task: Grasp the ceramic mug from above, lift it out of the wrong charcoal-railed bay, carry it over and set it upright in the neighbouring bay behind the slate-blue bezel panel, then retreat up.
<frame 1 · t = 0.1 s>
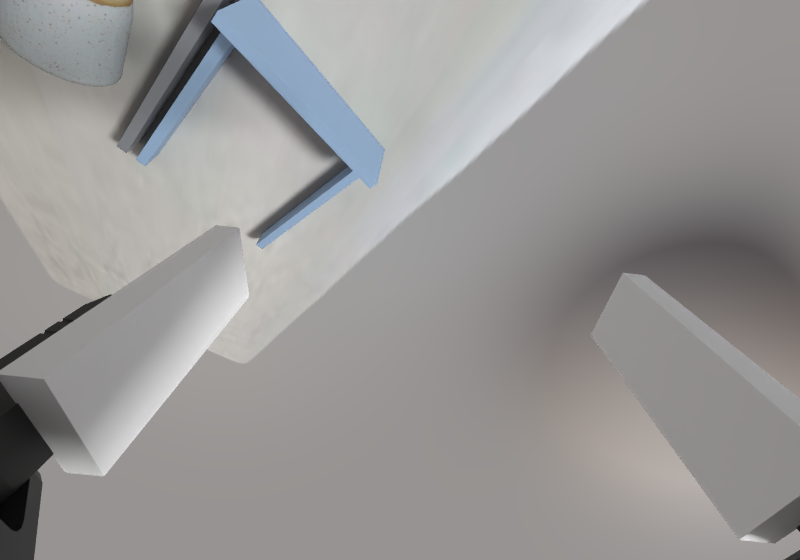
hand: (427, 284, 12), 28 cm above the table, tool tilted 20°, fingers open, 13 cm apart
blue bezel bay: (260, 151, 38), on the table
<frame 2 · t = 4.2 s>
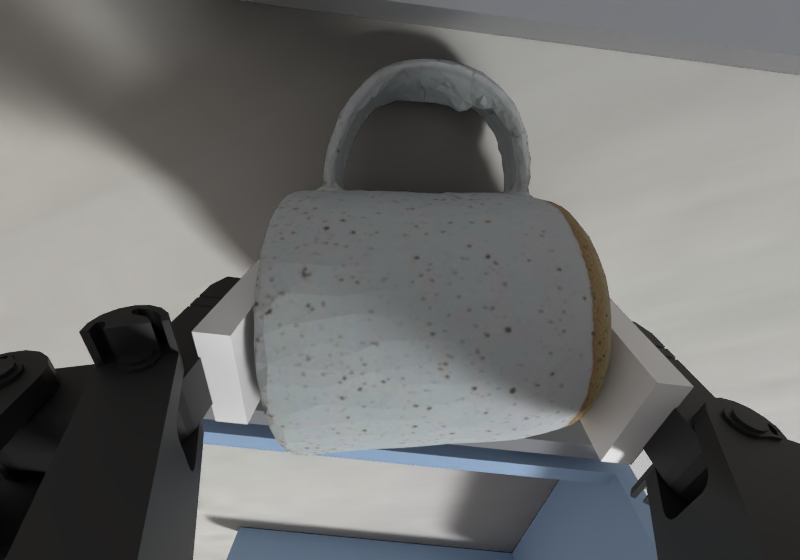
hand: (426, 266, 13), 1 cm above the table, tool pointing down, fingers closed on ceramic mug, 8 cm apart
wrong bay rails: (423, 256, 13), on the table
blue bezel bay: (385, 490, 22), on the table
ceramic mug: (416, 228, 13), on the table, touching gripper
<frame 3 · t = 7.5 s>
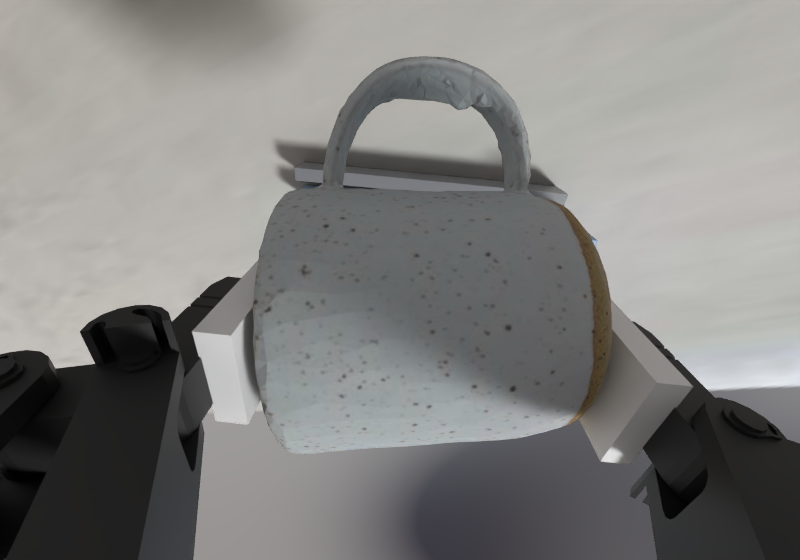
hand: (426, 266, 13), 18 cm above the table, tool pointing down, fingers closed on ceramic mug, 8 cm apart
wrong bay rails: (443, 71, 24), on the table
ceramic mug: (416, 227, 13), point 17 cm above the table, touching gripper
when the fingers open (2 cm above the table, at t = 10.7 s): ceramic mug drops 1 cm, on the table.
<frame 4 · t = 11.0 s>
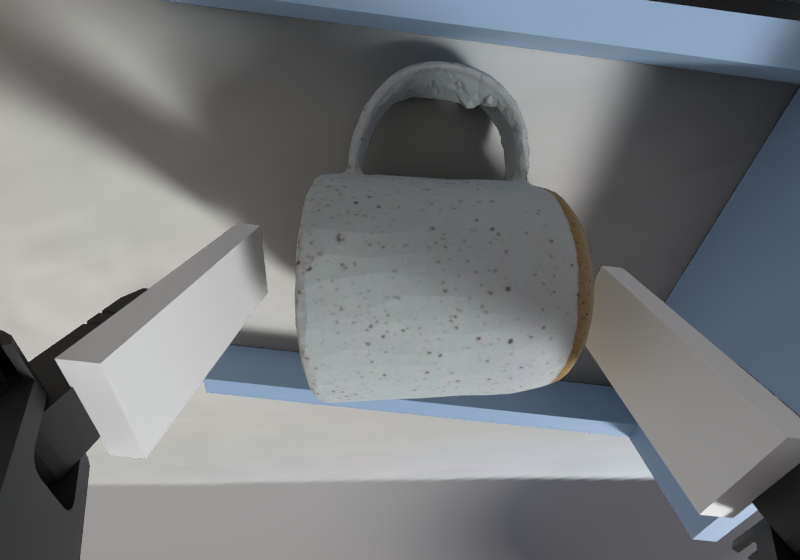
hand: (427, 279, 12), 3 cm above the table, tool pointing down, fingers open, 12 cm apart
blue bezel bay: (446, 245, 15), on the table
ceramic mug: (424, 214, 14), on the table
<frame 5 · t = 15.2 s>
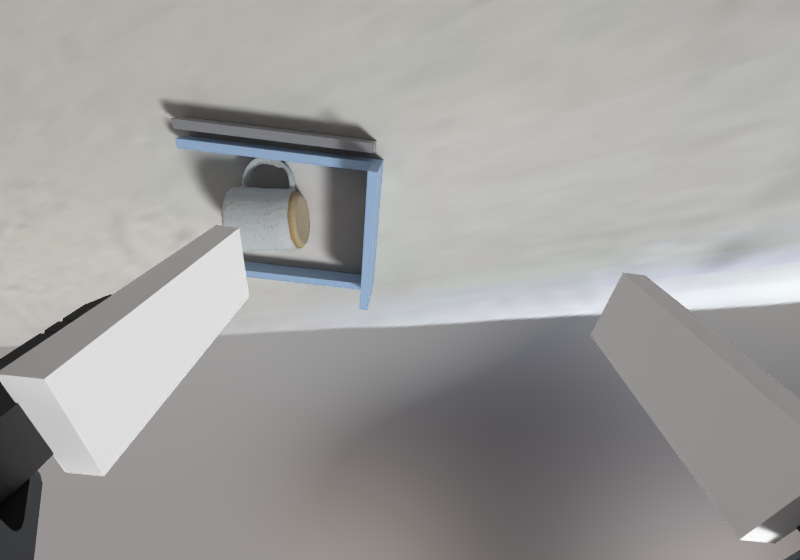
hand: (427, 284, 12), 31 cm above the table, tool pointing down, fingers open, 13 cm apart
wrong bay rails: (275, 49, 34), on the table
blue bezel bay: (286, 216, 43), on the table
ceramic mug: (277, 199, 42), on the table
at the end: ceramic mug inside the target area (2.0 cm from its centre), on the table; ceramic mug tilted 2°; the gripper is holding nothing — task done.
